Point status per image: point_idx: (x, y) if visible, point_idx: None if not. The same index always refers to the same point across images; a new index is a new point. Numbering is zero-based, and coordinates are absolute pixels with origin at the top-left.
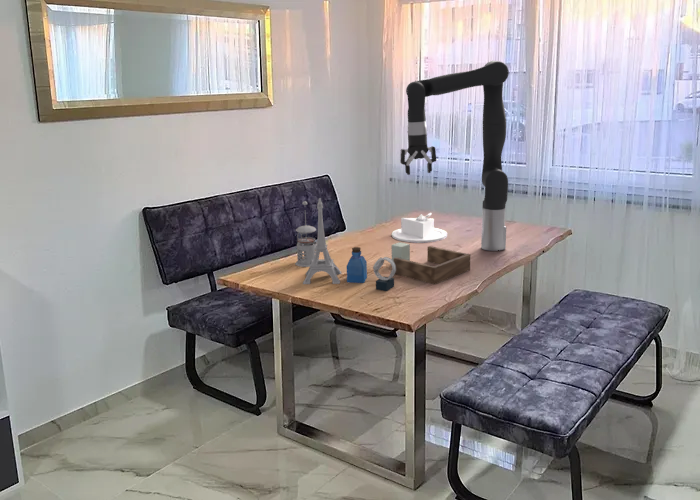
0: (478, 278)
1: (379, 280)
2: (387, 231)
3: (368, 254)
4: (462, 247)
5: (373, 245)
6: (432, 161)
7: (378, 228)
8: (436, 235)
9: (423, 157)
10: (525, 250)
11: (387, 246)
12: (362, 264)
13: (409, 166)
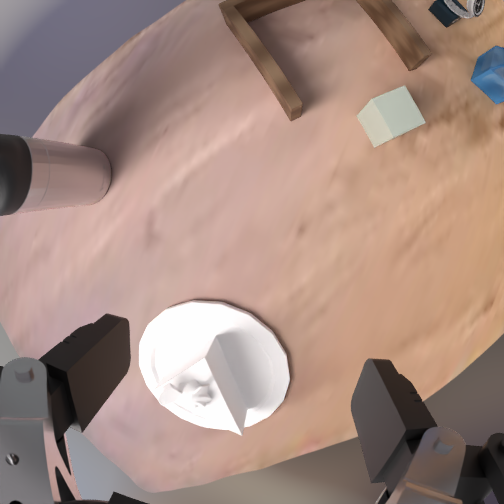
0: None
1: (461, 8)
2: (275, 430)
3: (422, 253)
4: (147, 211)
5: (373, 332)
6: (3, 377)
7: (283, 454)
8: (170, 345)
9: (86, 500)
10: (47, 139)
11: (344, 308)
12: (499, 47)
13: (406, 421)
